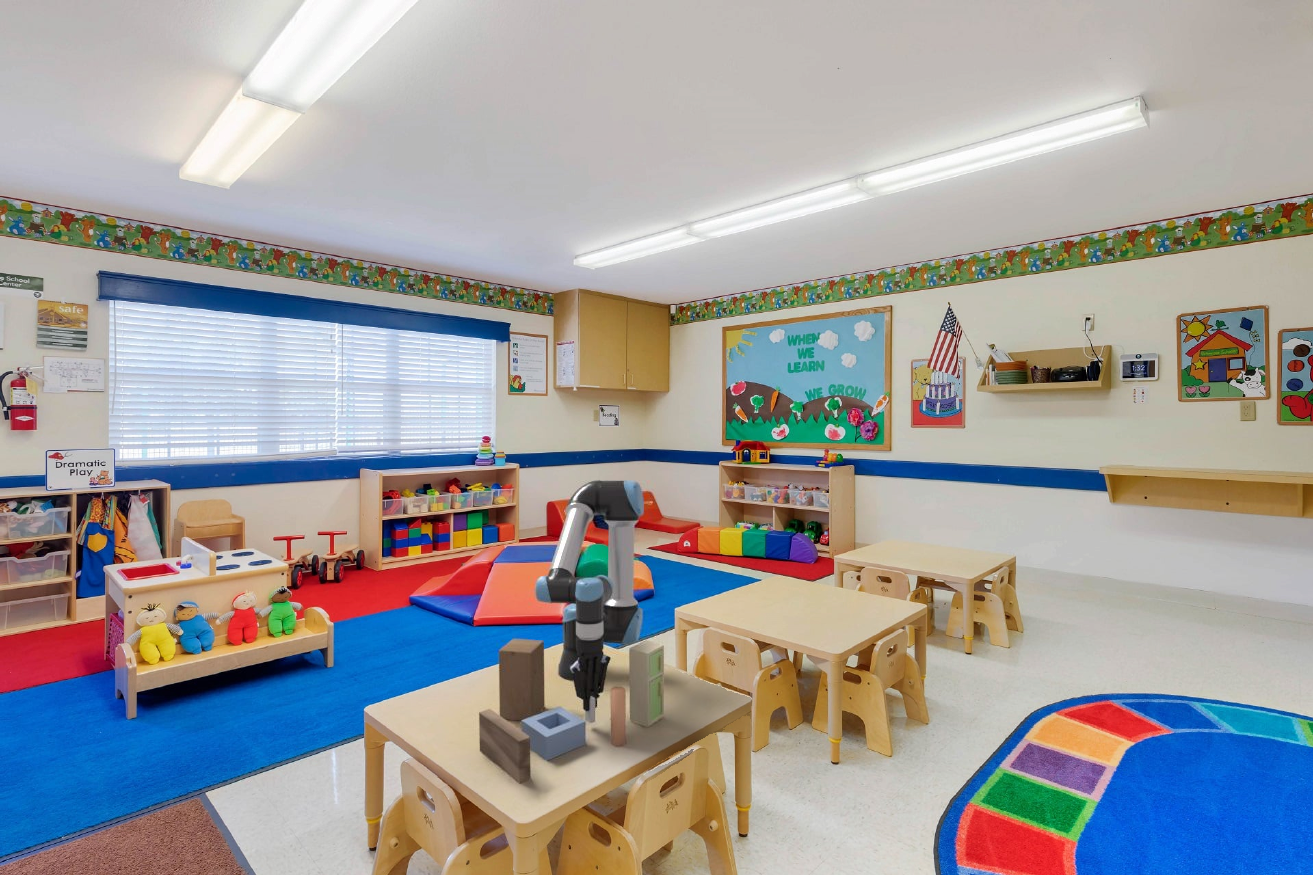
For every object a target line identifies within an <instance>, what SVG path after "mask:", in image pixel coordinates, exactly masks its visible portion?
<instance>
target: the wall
mask: <svg viewBox="0 0 1313 875" xmlns="http://www.w3.org/2000/svg"><path fill="white" fill-rule="evenodd" d="M478 719H479V720H478V722H479V724H478V725H479V728H478V729H479V731H478V732H479V733H478V734H479V751H480V752H481V753H482V754H483V755H484V756H486V757H487V758H488V759H489V760H490V761H491V762H493V763H494V764H495V765H496V766H497V767H499V768H500V770H502V771H503V772H505V773H506V774H507V775H509V777H511V778H512V779H513V780H514V781H515V782H517V783H518V784H521V783H523V782H526V781H529V780H531V778H532V777H531V775H532V774H531V749H530V737H529V736H528V735H526V734H525V733H524V732H522V729H519V727H516V726H515V725H514V724H512V723H511V722H509V721H508V719H504V718H502V717H501V716H500V714H498V713H496V712H495V711H494V710H492V709H491V708H488V709H485V710H482V711H479V712H478Z"/></svg>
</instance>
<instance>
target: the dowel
mask: <svg viewBox="0 0 1313 875" xmlns="http://www.w3.org/2000/svg"><path fill="white" fill-rule="evenodd" d="M626 690H627V689H626V688H625V687H624V686H613V687H611V688H610V692H609V693H610V696H609V697H610V700H609V701H610V744H611V745H613V746H615V747H621V746H624V745H625V744H626V743H627V720H626V718H627V716H626V714H627V712H626V711H627V710H626V709H627V707H626V706H627V704H626V703H627V702H626V698H627V696H626V693H627V692H626Z"/></svg>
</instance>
